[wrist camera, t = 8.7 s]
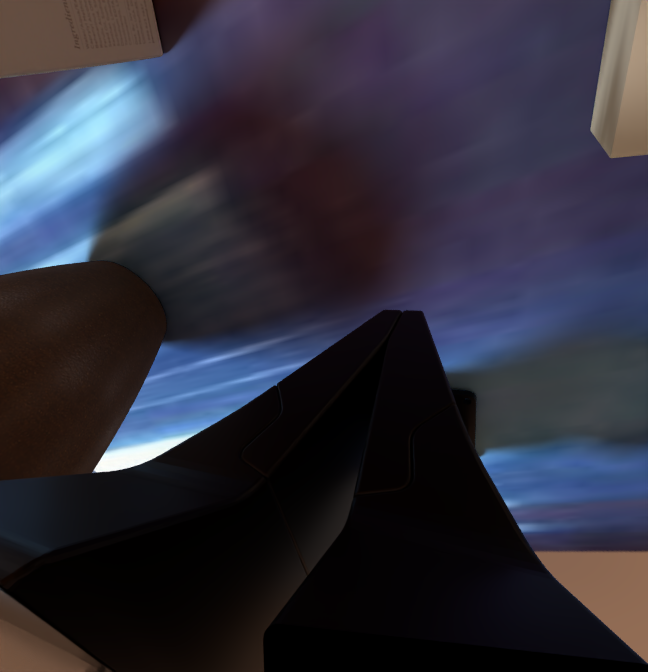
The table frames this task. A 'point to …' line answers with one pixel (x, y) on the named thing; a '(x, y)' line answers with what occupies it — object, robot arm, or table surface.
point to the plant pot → (71, 363)
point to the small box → (74, 34)
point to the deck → (623, 82)
